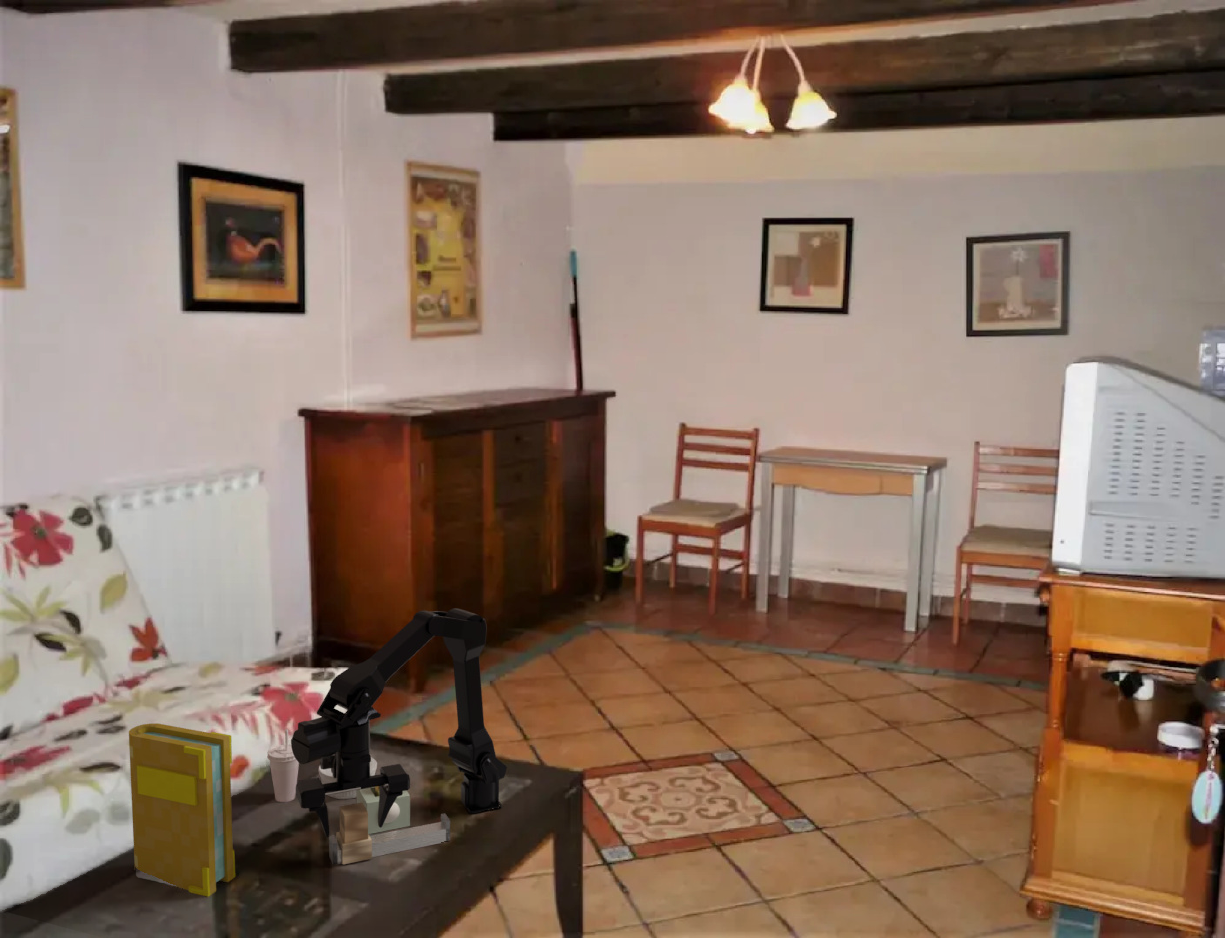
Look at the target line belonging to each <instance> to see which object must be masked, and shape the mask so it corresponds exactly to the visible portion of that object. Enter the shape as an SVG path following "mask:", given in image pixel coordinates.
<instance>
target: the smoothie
mask: <svg viewBox="0 0 1225 938" xmlns="http://www.w3.org/2000/svg"><path fill="white" fill-rule="evenodd" d="M284 733H285V734H284V740H285V741H284V742H285V743H284V744H280V745H276V746H274V747H272V748H269V749H268V751H267V759H268V761H269V767H270V772H271V773H270V774H271V779H272V784H273V790H274V791H273V792H274V799H275V801H277V802H278V803H287V802H292V801H293V800H295V798H296V785H297V783H298V775H299V768H300V766H299V765H300V763H299V762H298V761H297V760H296V758H295V756H294V754H293V751H292V747H291V744H289V729H288V728H287V729H285V730H284Z"/></svg>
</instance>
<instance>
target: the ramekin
mask: <svg viewBox="0 0 1225 938" xmlns="http://www.w3.org/2000/svg"><path fill="white" fill-rule="evenodd" d="M377 768H378V762H377V760H376V759H374V757H372V756H371V762H370V776H373V775H376V771H377ZM318 774H319V775H318V776H320V777H319V778H320V781H321V783H322V784H327V783H333V782H336V778H334V777H333V773H332V772H331V768H330V769H324V770H323V769H321V767H320V765H319V766H318ZM327 796H328V797H330V798H332V799H333V798H334V799H337V800H352V799H354V798H356V799H357V790H354V791H348V792H343V793H337V794H331V795H327Z"/></svg>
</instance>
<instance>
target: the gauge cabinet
mask: <svg viewBox="0 0 1225 938" xmlns="http://www.w3.org/2000/svg"><path fill="white" fill-rule="evenodd" d="M356 803H363V804H364V806H365V808H366V810H367V811H368V834H369V835H371V834H372V835H373V834H375V833H377V834H378V833H381V832H382V833H383V832H388V831H391V830H392V831H393V830H398V829H403V828H407V827H408V828H409V827H411V795H410V793H409V792H408V790H406V791H403V794H402V795H401V796H398V797H397V798H396V800H395V802H394V803H393V805H392V807H391V808H390V810H389V813H388V815H387V817H386V819H385V821H384V824H383V826H382V827H381V828H380V827H379V826H378V809H379V796H378V797H375V787H371V788H365V789H360V790H357V797H356Z"/></svg>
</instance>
